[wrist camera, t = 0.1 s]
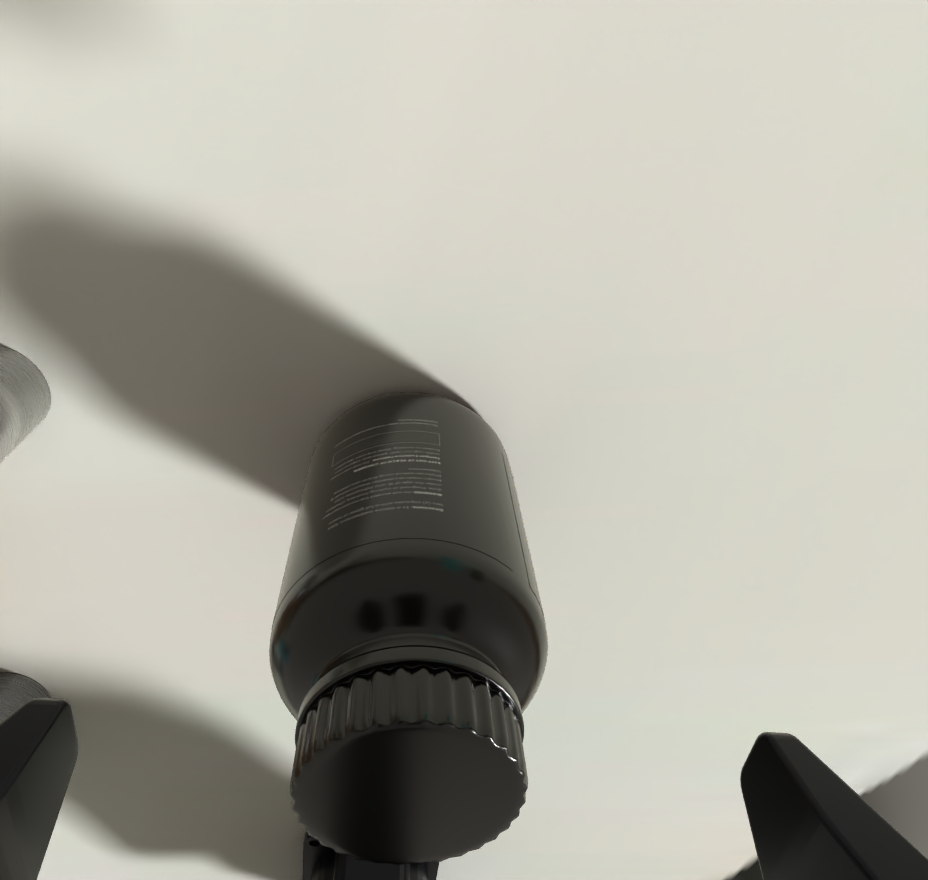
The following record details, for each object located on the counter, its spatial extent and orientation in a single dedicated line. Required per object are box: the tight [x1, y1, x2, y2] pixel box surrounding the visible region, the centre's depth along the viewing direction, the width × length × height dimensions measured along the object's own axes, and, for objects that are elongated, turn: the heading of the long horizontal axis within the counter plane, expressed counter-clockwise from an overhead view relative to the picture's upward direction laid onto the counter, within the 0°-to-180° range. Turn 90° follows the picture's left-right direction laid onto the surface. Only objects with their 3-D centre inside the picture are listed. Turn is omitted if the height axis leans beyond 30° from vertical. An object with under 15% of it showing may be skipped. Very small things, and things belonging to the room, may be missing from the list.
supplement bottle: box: [269, 392, 548, 865], centre depth 19 cm, size 7×7×12 cm
